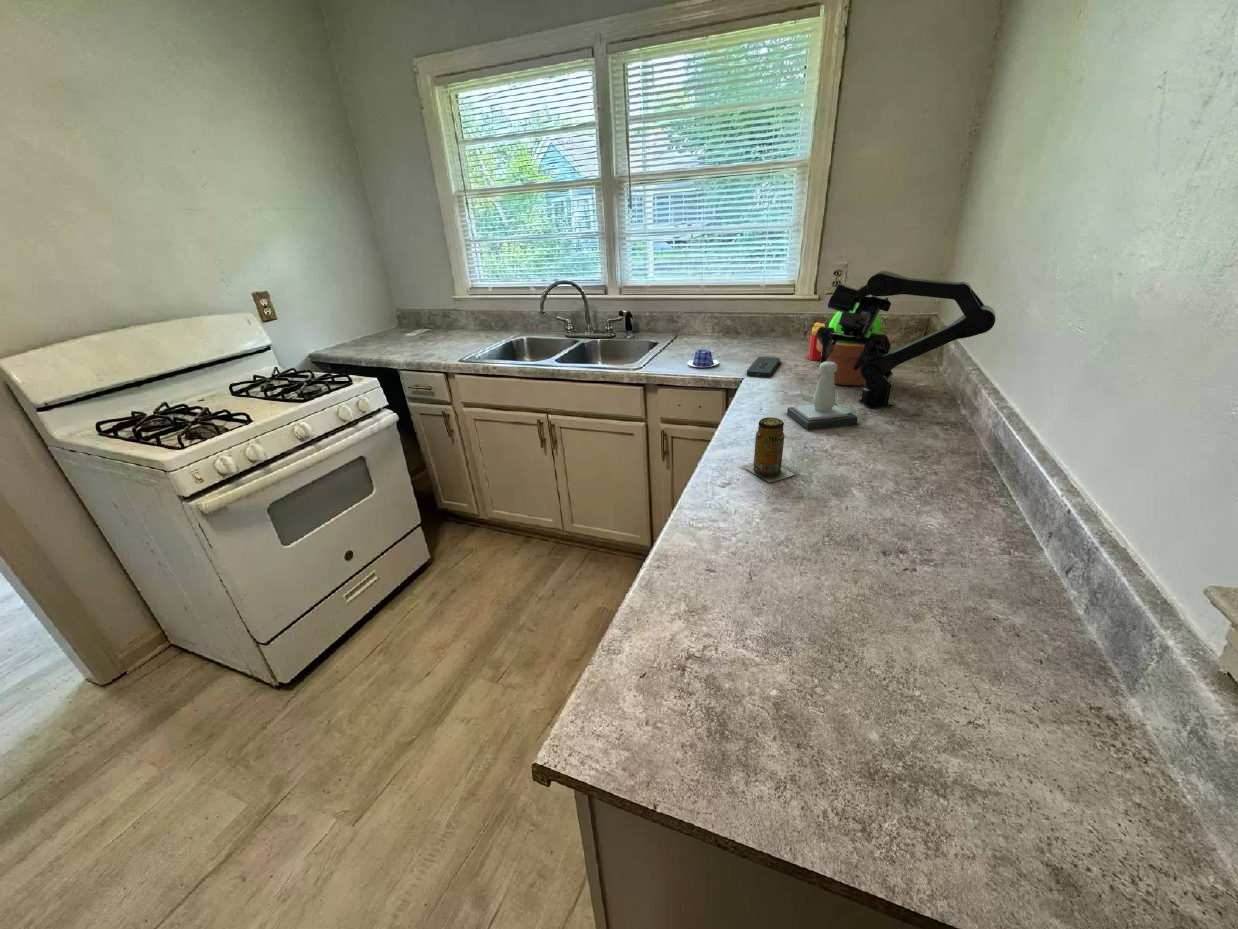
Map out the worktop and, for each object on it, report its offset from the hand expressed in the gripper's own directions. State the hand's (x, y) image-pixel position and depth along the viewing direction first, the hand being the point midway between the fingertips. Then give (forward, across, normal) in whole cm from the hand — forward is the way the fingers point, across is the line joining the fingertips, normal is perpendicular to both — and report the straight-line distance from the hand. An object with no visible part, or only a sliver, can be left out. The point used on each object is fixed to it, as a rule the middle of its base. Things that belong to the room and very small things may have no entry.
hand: (837, 366), depth 133 cm
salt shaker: (+12, 0, +4) cm, 12 cm away
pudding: (-2, -61, +21) cm, 64 cm away
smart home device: (-8, -40, +28) cm, 49 cm away
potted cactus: (-13, -12, +33) cm, 37 cm away
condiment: (+39, +8, -19) cm, 44 cm away
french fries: (-24, -33, +44) cm, 60 cm away
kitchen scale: (+14, 0, +6) cm, 15 cm away
